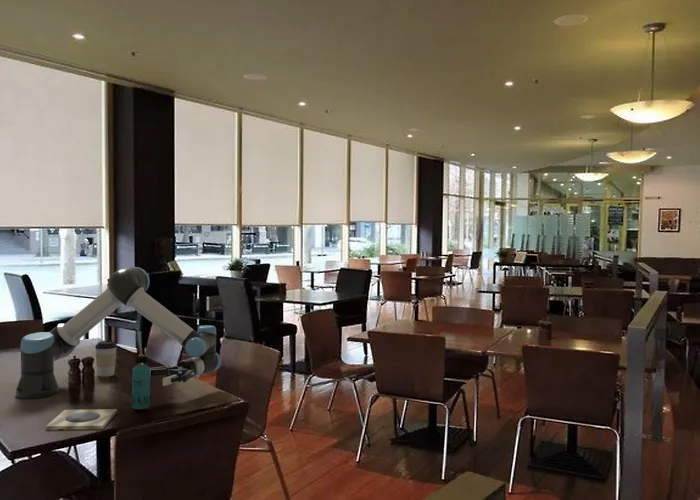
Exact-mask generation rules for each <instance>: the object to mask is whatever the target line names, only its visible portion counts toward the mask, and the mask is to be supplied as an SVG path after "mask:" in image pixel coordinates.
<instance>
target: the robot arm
mask: <svg viewBox="0 0 700 500" xmlns="http://www.w3.org/2000/svg"><path fill="white" fill-rule="evenodd" d="M150 281H151V280H150V276H149V274H148V272H147V271H146V270H145V269H143V268H141V267H137V266H131V267H129V268H123V269H117V270H116V271H114V272H113V273H112V274H111V275H110V277H109V278H108V283H107V288H106V289H105V290H104V291H102V292H101V294H99V295H98V296H97V297H95V299H93V300H92V301H91V302H90V303H88V304H87V305H86V306H84V307H83V308H82V309H81V310H80V311H79V312H77V314H75V315H74V316H73V317H71V318H70V319H69V320H67V322H66V323H62V322H61V323H58V324H57V325H56V326H55V327H54V328H52V329H51V330H50V331H48V332H47V331H45V332H44V331H41V332H39V331H38V332H34V333H29V334H27V335H25V336H23V337H22V338H21V341H20V377H19V379H18V382H17V383H18V384H17V386H16V389H15V397H17V398H19V399H29V400H30V399H40V398H41V399H42V398H48V397H51V396H52V397H53V396H54V395H56V394H58V393H59V383H58V381H57V378H56V374H55V361H58V360H61V359H64V358H66V357H68V356H70V354H71V353H72V352H74V350H75V348H76V347H77V346H79V345H80V342H81V339H82V338H83V337H84V336H85V335H86V334H88V332H90V331H92V329H93V328H94V327H96V326H97V325H98V324H99V323H101V322H102V321H103V320H104V319H105V318H107V317H108V316H109V315H110V314H112V313H113V312H114V311H115V310H117V309H118V308H119V307H120V306H121V305H124V306H125V307H126V308H127V307H128V308H131V309H134V310H135V311H136V312H137V313H139V314H140V315H141V316H143V317H144V318H145V319H146V320H148V321H149V322H150V323H152V324H153V325H154V326H155V327H157V328H158V329H160V330H161V331H162V332H163V333H165V334H166V335H167V336H169V337H170V338H171V339H173V340H174V341H175V342H176V343H177V344H179V345H181V346H182V347H183V348H184V349H185V353H186V354H187V355H188V356H189V357H190V358H187V359H182V360H181V361H179V362H178V363H177V365H173V366H171V365H164V366H157V367H156V366H155V367H150V378H151V377H159V376H166V377H163V378H162V387H165V386H168V385H172V384H175V383H181V382H182V383H186V382H188V381H189V380H190V379H192V378H194V379H195V378H197V377H198V376H201V375H204V374H205V375H206V374H208V373H212V372H214V371H217V370H219V368H220V367H221V366H222V358H221V356H220V354H218V352H217V350H216V349H217V328H216V326H215V325H199V326H198V327H197V331H196V330H194V329H193V328H192V327H191V326H190V325H188V324H187V323H185V321H183V320H181V319H180V317H178V316H176V315H175V314H174V313H173V312H172V311H170V310H169V309H167V308H166V307H165V306H164V305H162V304H161V303H160V302H159V301H157V300H156V299H154V298H153V297H152V296H151V295H149V294H148V293H147V290H148V289H149V287H150Z"/></svg>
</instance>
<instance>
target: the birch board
mask: <svg viewBox="0 0 700 500" xmlns="http://www.w3.org/2000/svg"><path fill="white" fill-rule="evenodd" d="M117 413H118V409H117V408H112V409H111V408H110V409H109V408H107V409H103V408H102V409H99V408H98V409H97V408H96V409H91V408H90V409H64V410H63V411H61V413H59V414H58V415H57V416H56V417H55V418H54V419H52V420H51V421H50V422H49V423H48V424H47V425H46V426H45V430H46V431H58V429H64V430H65V431H67V430H68V429H69V430H104V428H106V425H108V423H109V422H111V420H112V419H113V418H114V416H115V415H116V414H117ZM64 430H63V431H64Z"/></svg>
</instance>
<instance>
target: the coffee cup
mask: <svg viewBox="0 0 700 500" xmlns="http://www.w3.org/2000/svg"><path fill="white" fill-rule="evenodd" d="M117 347H118V346H117V343H115V341H114V340H113V339H112V340H111V339H108V340H106V341H105V340H103V341H99V342H97V344H95V347H94V348H95V361H96V362H95V363H96V370H97V376H98V377H102V378H103V377H105V378H106V377H112V376H115V369H116V367H115V366H116V362H117V361H116V359H117Z"/></svg>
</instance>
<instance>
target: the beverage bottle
mask: <svg viewBox="0 0 700 500" xmlns="http://www.w3.org/2000/svg"><path fill="white" fill-rule="evenodd" d="M135 363H136V365H135V366H134V367H132V369H131V370H132V379H131V383H132V384H131V408H132V409H136V410H140V409H141V410H142V409H147V408H149V407H150V405H151V404H150V403H151V377H150V368H151V367H150V366H148V365H147V364H146V363H148V357H147V356H146V355H144V356H143V355H142V356H141V355H140V356H139V355H138V356H136V357H135ZM139 363H144V365H139Z"/></svg>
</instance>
